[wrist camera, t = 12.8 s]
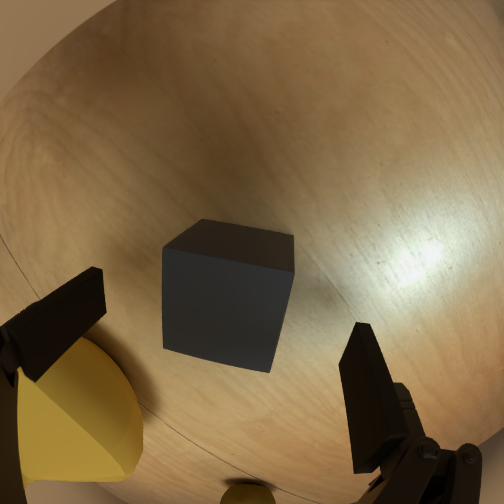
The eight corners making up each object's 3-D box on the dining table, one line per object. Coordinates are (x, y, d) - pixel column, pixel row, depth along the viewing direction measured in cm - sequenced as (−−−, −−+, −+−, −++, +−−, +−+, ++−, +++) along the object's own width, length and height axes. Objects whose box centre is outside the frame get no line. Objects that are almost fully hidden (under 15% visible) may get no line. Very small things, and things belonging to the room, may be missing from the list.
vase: (200, 401, 24) (134, 573, 6) (121, 432, 29) (67, 530, 12) (62, 263, 21) (-94, 378, 3) (27, 341, 27) (-54, 421, 9)
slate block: (201, 218, 18) (162, 246, 12) (293, 235, 17) (295, 272, 12) (194, 299, 20) (162, 348, 14) (276, 315, 19) (269, 373, 14)
